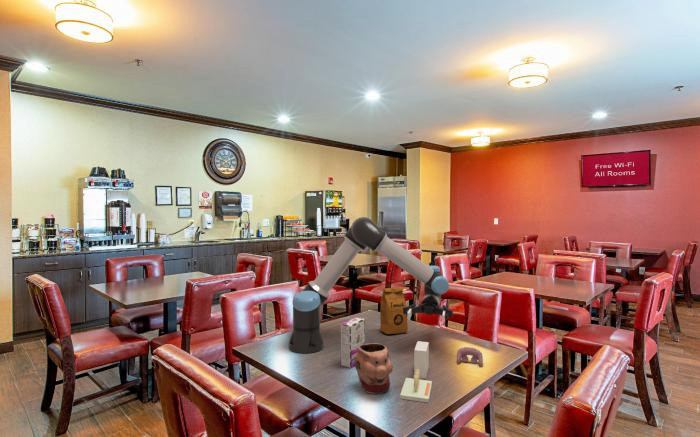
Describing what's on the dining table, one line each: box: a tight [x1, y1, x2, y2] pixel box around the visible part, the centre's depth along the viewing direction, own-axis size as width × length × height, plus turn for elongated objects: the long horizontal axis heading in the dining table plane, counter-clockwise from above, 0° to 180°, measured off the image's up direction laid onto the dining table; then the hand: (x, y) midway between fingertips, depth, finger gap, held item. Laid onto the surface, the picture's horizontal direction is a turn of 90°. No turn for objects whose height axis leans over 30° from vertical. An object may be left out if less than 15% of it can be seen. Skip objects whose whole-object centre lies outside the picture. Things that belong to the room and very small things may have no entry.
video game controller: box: [456, 346, 484, 368], centre depth 153 cm, size 10×5×7 cm, turn 71°
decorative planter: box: [354, 342, 394, 395], centre depth 133 cm, size 20×12×14 cm, turn 23°
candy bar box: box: [339, 316, 366, 369], centre depth 153 cm, size 11×5×16 cm, turn 148°
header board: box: [399, 369, 433, 403], centre depth 130 cm, size 9×13×6 cm
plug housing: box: [413, 340, 430, 380], centre depth 144 cm, size 10×4×10 cm, turn 163°
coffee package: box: [379, 286, 409, 335], centre depth 190 cm, size 10×12×22 cm
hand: (425, 317), depth 154 cm, fingers open, 13 cm apart
